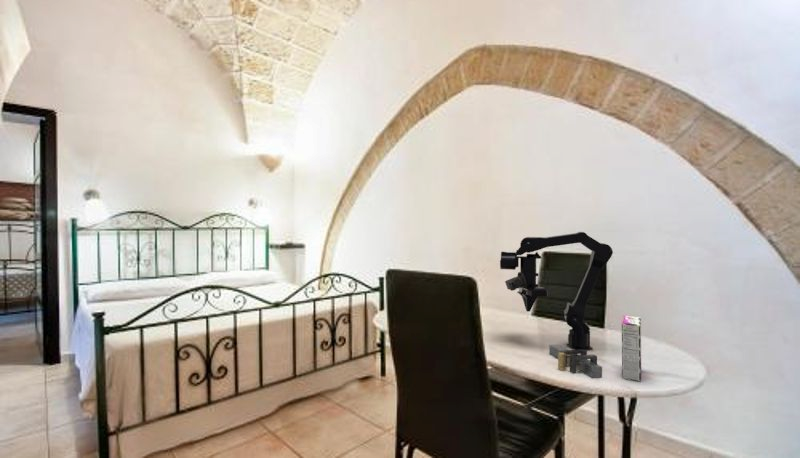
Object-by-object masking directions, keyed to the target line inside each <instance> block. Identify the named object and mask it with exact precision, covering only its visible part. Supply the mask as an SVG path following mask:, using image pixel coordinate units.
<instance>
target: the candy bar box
mask: <svg viewBox="0 0 800 458" xmlns="http://www.w3.org/2000/svg"><path fill="white" fill-rule="evenodd" d="M622 316H623V317H622V322H621V362H622V363H621V374H622V375H621V379H623V378H624V379H623V380H628V379H630V381H634V380H635V381H636V382H641V381H642V317H641V316H631V315H622ZM635 381H634V382H635Z"/></svg>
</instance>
